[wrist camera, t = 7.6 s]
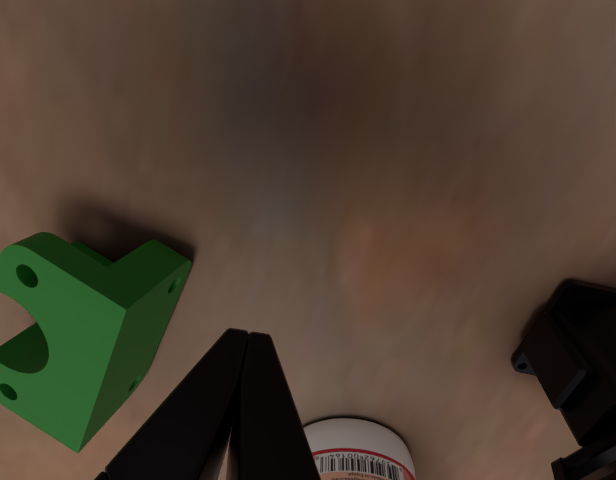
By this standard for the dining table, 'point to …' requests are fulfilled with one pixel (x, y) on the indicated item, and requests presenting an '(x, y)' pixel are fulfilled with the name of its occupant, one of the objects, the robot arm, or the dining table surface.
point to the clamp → (83, 330)
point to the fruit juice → (358, 451)
